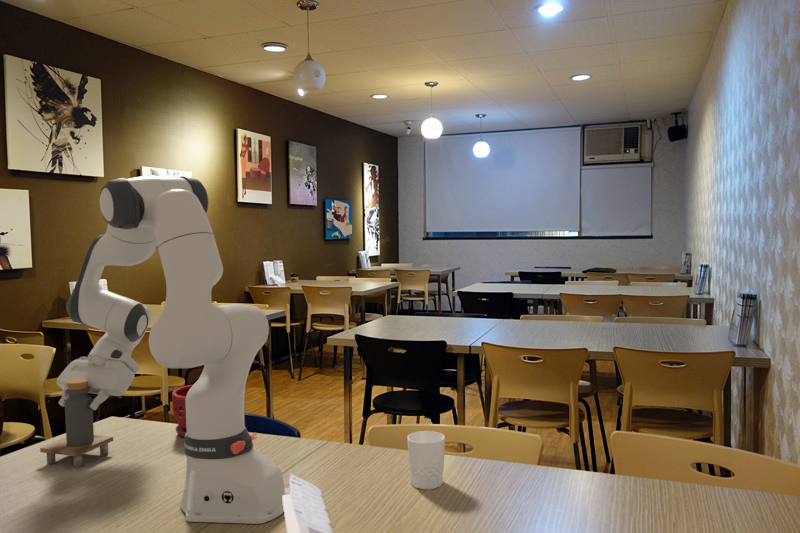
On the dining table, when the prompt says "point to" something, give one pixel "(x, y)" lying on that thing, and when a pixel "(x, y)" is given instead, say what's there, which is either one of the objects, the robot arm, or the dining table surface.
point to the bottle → (78, 414)
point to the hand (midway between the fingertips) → (76, 406)
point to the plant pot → (179, 412)
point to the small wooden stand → (75, 449)
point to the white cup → (426, 459)
